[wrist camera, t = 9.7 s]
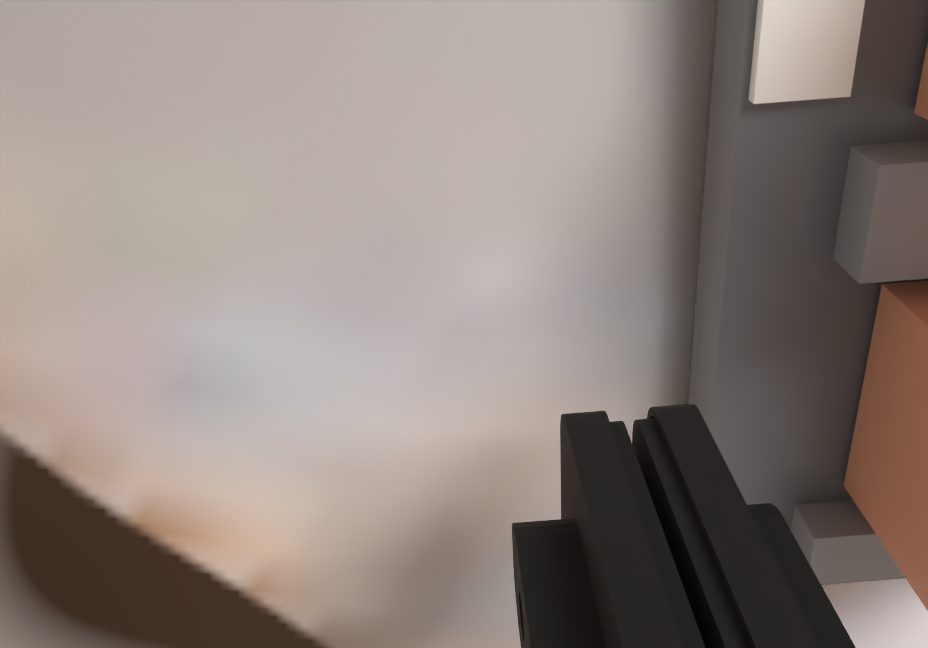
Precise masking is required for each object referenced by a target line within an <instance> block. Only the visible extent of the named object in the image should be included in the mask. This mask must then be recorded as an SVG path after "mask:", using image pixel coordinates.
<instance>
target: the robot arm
mask: <svg viewBox="0 0 928 648" xmlns="http://www.w3.org/2000/svg"><path fill="white" fill-rule="evenodd" d="M560 436H561V519H560V520H547V521H534V522H522V523H513V524H512V541H513V562H514V579H515V592H516V604H517V614H518V624H519V633H520V641H521V648H855V646H854V644H853V642H852V640H851V639H850V637H849V635H848V633H847V631H846V629H845V628H844V626H843V624H842V622H841V620H840V619H839V617H838V615H837V613H836V611H835V610H834V608H833V606H832V604H831V602H830V600H829V599H828V597H827V595H826V593H825V591H824V590H823V588H822V586H821V584H820V582H819V581H818V579H817V577H816V575H815V573H814V571H813V570H812V568H811V566H810V564H809V562H808V561H807V559H806V557H805V555H804V553H803V552H802V550H801V548H800V546H799V544H798V542H797V541H796V539H795V537H794V535H793V533H792V532H791V530H790V528H789V526H788V524H787V523H786V521H785V519H784V517H783V515H782V514H781V513H780V511H779V510H778V508H777V507H776V506H774V505H773V504H771V503H764V504H751V505H747V504H746V502H745V500H744V498H743V496H742V494H741V492H740V490H739V488H738V486H737V484H736V482H735V480H734V478H733V476H732V474H731V472H730V470H729V468H728V466H727V464H726V462H725V460H724V458H723V456H722V454H721V452H720V450H719V448H718V446H717V444H716V442H715V440H714V438H713V436H712V434H711V433H710V431H709V429H708V427H707V425H706V423H705V421H704V419H703V417H702V415H701V413H700V411H699V409H698V408H697V406H696V405H694V404H687V405H674V406H661V407H651V408H650V409H649V411H648V416H647V419H641V420H635V421H634V424H633V438H632V443H631V440H630V438H629V435H628V432H627V429H626V426H625V424H624V422H623V421H616V422H609V419H608V416H607V414H606V412H605V411H597V412H584V413H571V414H562V415H561V424H560Z"/></svg>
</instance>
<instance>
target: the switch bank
mask: <svg viewBox="0 0 928 648" xmlns="http://www.w3.org/2000/svg"><path fill="white" fill-rule="evenodd" d="M927 43H928V0H718V2H717V16H716V29H715V43H714V56H713V70H712V84H711V97H710V111H709V124H708V138H707V152H706V165H705V179H704V192H703V206H702V220H701V233H700V247H699V260H698V274H697V288H696V301H695V315H694V328H693V342H692V355H691V369H690V383H689V396H688V404H694V405H696V406H697V408H698V409H699V411H700V413H701V415H702V417H703V419H704V421H705V423H706V425H707V427H708V429H709V431H710V433H711V434H712V436H713V438H714V440H715V442H716V444H717V446H718V448H719V450H720V452H721V454H722V456H723V458H724V460H725V462H726V464H727V466H728V468H729V470H730V472H731V474H732V476H733V478H734V480H735V482H736V484H737V486H738V488H739V490H740V492H741V494H742V496H743V498H744V500H745V502H746V504H747V505H751V504H764V503H771V504H773V505H774V506H776V507H777V508H778V510H779V511H780V513H781V514H782V515H783V517H784V519H785V521H786V523H787V524H788V526H789V528H790V530H791V532H792V533H793V535H794V537H795V539H796V541H797V542H798V544H799V546H800V548H801V550H802V552H803V553H804V555H805V557H806V559H807V561H808V562H809V564H810V566H811V568H812V570H813V571H814V573H815V575H816V577H817V579H818V581H819V582H820V584H821V585H824V584H836V583H849V582H861V581H874V580H886V579H899V578H905V576H904V575H903V573H902V572H901V570H900V569H899V567H898V566H897V564H896V563H895V561H894V560H893V558H892V557H891V556H890V554H889V553H888V551H887V550H886V548H885V547H884V545H883V544H882V542H881V541H880V539H879V538H878V536H877V535H876V533H875V532H874V530H873V529H872V527H871V526H870V524H869V523H868V521H867V520H866V518H865V517H864V516H863V514H862V513H861V511H860V510H859V508H858V507H857V505H856V504H855V502H854V501H853V499H852V498H851V496H850V495H849V493H848V492H847V490H846V489H845V487H844V481H845V476H846V471H847V465H848V460H849V455H850V449H851V444H852V439H853V434H854V428H855V423H856V418H857V412H858V407H859V402H860V397H861V391H862V386H863V381H864V376H865V370H866V365H867V360H868V354H869V349H870V344H871V339H872V333H873V328H874V323H875V317H876V312H877V307H878V302H879V296H880V291H881V286H882V284H887V283H900V282H913V281H925V280H928V120H926V119H924V118H923V117H921V116H919V115H917V114H915V113H914V111H915V106H916V101H917V96H918V90H919V85H920V80H921V74H922V69H923V64H924V59H925V53H926V48H927Z"/></svg>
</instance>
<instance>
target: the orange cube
mask: <svg viewBox="0 0 928 648" xmlns="http://www.w3.org/2000/svg"><path fill="white" fill-rule="evenodd" d="M844 487H845V489H846V490H847V492H848V493H849V495H850V496H851V498H852V499H853V501H854V502H855V504H856V505H857V507H858V508H859V510H860V511H861V513H862V514H863V516H864V517H865V518H866V520H867V521H868V523H869V524H870V526H871V527H872V529H873V530H874V532H875V533H876V535H877V536H878V538H879V539H880V541H881V542H882V544H883V545H884V547H885V548H886V550H887V551H888V553H889V554H890V556H891V557H892V558H893V560H894V561H895V563H896V564H897V566H898V567H899V569H900V570H901V572H902V573H903V575H904V576H905V578H906V579H907V581H908V582H909V584H910V585H911V587H912V588H913V590H914V591H915V593H916V594H917V596H918V597H919V598H920V600H921V601H922V603H923V604H924V606H925V607H926V609H927V610H928V280H925V281H913V282H900V283H887V284H882V286H881V291H880V296H879V302H878V307H877V312H876V317H875V323H874V328H873V333H872V339H871V344H870V349H869V354H868V360H867V365H866V370H865V376H864V381H863V386H862V391H861V397H860V402H859V407H858V412H857V418H856V423H855V428H854V434H853V439H852V444H851V449H850V455H849V460H848V465H847V471H846V476H845V481H844Z"/></svg>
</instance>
